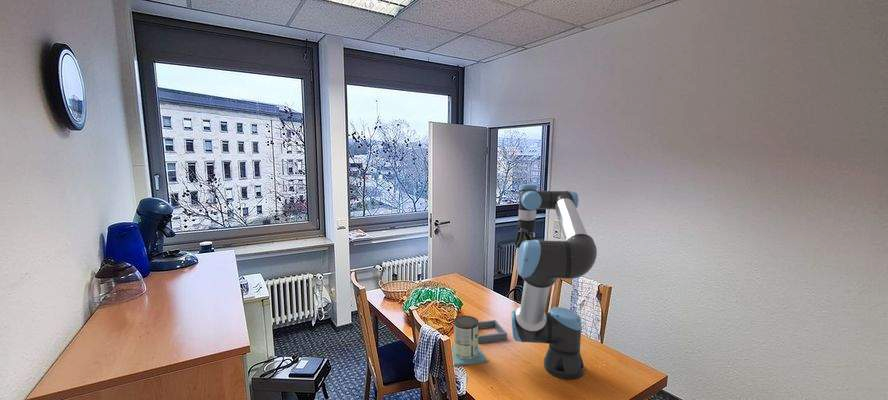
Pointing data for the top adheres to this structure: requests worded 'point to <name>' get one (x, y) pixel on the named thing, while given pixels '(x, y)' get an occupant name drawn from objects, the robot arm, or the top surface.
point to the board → (478, 359)
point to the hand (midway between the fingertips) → (525, 265)
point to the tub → (491, 337)
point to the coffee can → (466, 337)
